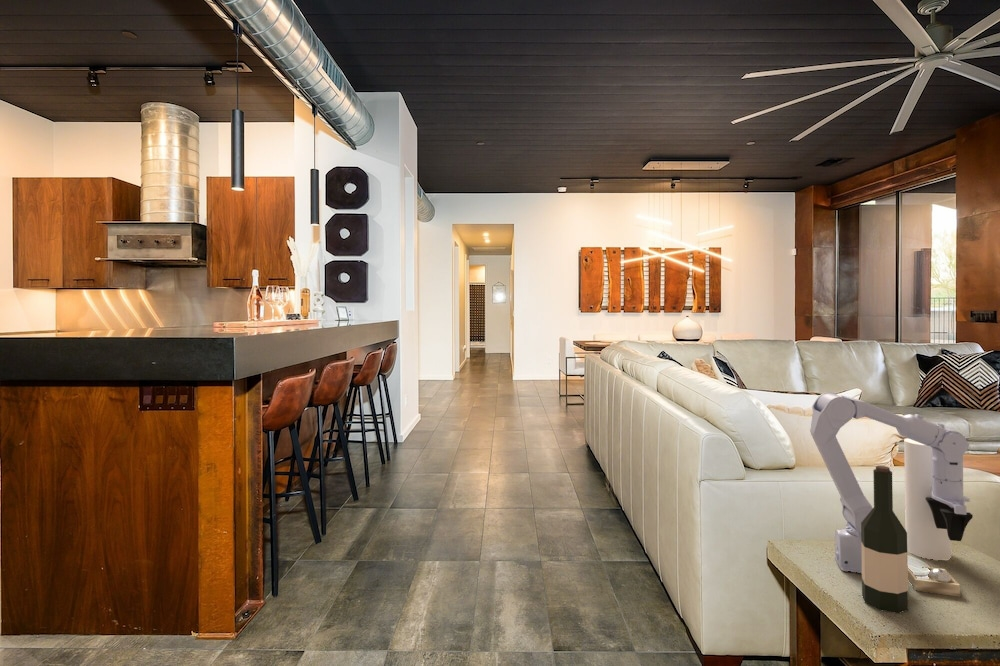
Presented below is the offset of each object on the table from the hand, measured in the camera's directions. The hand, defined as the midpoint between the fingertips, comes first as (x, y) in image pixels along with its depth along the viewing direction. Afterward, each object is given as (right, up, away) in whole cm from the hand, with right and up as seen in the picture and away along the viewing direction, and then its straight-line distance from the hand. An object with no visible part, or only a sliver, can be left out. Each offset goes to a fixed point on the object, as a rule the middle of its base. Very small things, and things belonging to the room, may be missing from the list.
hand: (948, 534), depth 128 cm
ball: (-8, -8, -7) cm, 13 cm away
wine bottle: (-24, -11, -12) cm, 29 cm away
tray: (-8, -10, -5) cm, 14 cm away
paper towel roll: (+5, -10, +12) cm, 16 cm away
